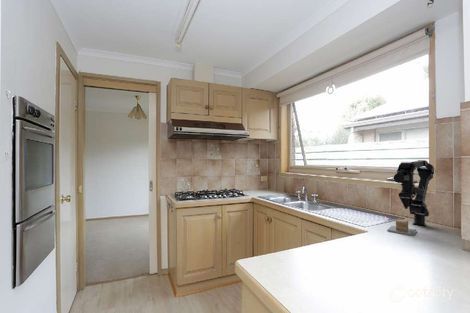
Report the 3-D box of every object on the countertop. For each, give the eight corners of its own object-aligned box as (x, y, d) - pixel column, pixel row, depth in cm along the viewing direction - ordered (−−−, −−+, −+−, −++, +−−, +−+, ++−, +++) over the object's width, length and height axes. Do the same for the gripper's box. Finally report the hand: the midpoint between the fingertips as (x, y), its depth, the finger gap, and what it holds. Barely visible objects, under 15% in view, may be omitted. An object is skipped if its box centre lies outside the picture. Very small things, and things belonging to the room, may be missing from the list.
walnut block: (397, 227, 140) (397, 219, 140) (408, 229, 137) (408, 220, 137) (395, 229, 137) (395, 220, 137) (406, 231, 133) (406, 222, 133)
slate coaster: (392, 227, 145) (392, 225, 145) (416, 231, 137) (416, 229, 137) (387, 231, 137) (387, 229, 137) (413, 236, 128) (413, 234, 128)
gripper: (422, 184, 133) (422, 212, 132) (426, 182, 146) (426, 207, 146) (398, 182, 140) (398, 209, 140) (404, 180, 154) (404, 205, 154)
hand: (407, 207), depth 145 cm, fingers open, 9 cm apart
